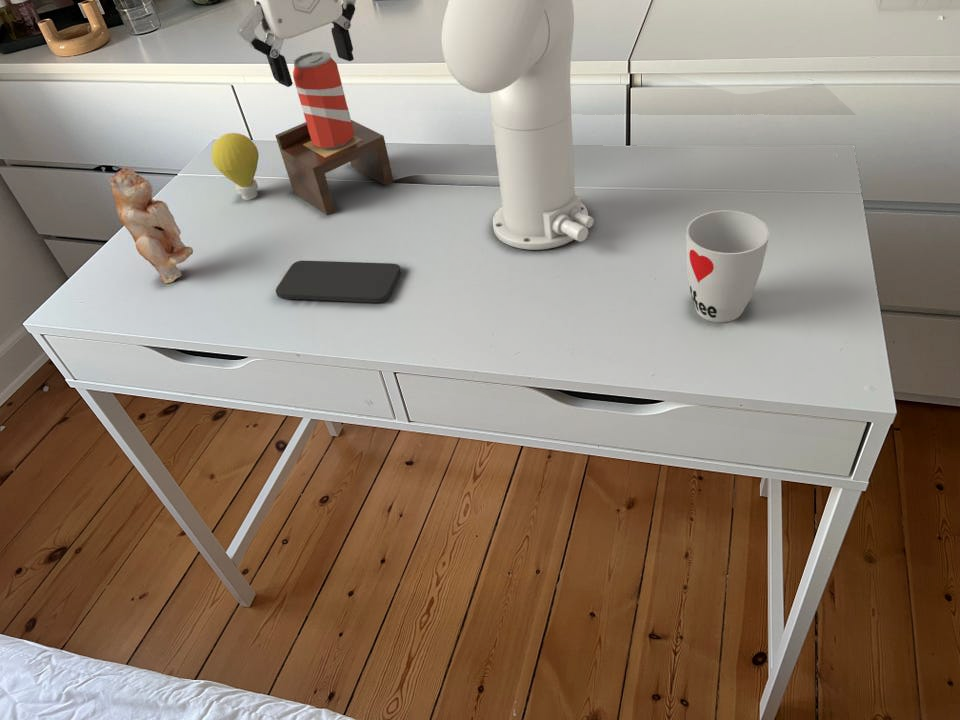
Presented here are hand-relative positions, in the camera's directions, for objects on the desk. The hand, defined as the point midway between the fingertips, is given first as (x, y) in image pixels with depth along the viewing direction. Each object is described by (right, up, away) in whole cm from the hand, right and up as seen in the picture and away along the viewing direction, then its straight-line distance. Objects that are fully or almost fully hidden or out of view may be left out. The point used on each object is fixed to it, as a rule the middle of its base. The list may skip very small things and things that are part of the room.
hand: (316, 71), depth 105 cm
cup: (+49, -34, -19) cm, 62 cm away
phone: (+4, -30, -7) cm, 31 cm away
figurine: (-19, -27, 0) cm, 34 cm away
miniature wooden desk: (+1, -13, +12) cm, 18 cm away
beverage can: (+1, -8, +7) cm, 11 cm away
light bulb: (-13, -14, +14) cm, 24 cm away
